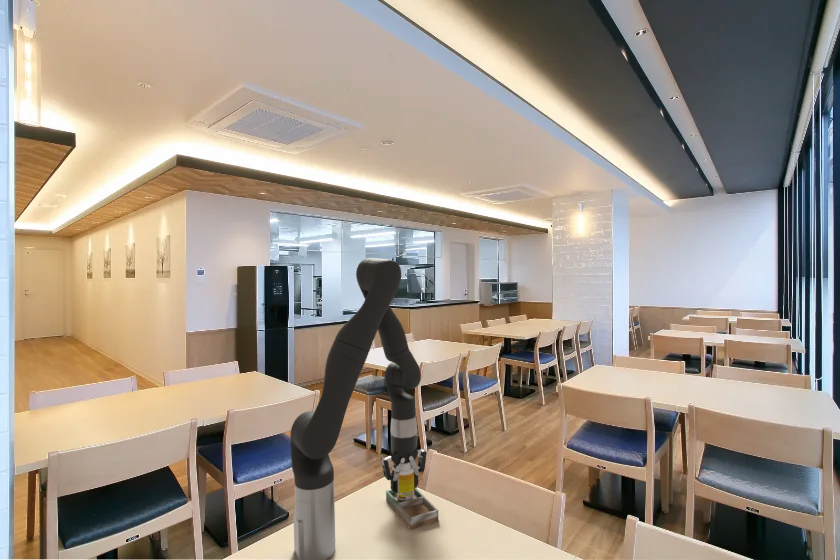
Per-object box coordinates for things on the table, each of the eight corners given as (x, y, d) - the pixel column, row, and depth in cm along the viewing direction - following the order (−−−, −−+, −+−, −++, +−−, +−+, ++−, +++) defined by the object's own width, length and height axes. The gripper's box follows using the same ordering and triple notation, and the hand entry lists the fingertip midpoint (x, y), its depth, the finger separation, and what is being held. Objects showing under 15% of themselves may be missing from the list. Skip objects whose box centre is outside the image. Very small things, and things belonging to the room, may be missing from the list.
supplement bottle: (418, 496, 122) (417, 461, 122) (403, 503, 118) (402, 467, 118) (406, 489, 126) (406, 455, 126) (391, 495, 123) (390, 461, 123)
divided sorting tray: (410, 529, 110) (409, 519, 110) (386, 500, 124) (386, 490, 124) (438, 520, 113) (438, 510, 113) (412, 493, 128) (412, 483, 128)
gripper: (385, 440, 116) (386, 502, 116) (431, 431, 122) (432, 489, 122) (376, 432, 122) (377, 489, 123) (420, 423, 129) (421, 478, 129)
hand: (404, 489), depth 122 cm, fingers closed on supplement bottle, 5 cm apart
